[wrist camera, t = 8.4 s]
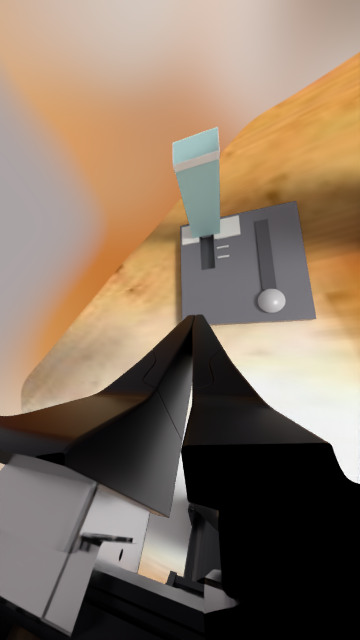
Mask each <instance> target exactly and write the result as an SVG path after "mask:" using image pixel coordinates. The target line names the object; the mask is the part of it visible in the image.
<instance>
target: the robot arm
mask: <svg viewBox="0 0 360 640" xmlns="http://www.w3.org/2000/svg"><path fill="white" fill-rule="evenodd" d="M152 350H153V351H152ZM152 350H151V351H150V352H149V353H148V354H147V355H146V356H144V357H143V358H142V359H141V360H140V361H139V362H138V363H136V364H135V365H134V366H133V367H132V368H130V369H129V370H128V371H127V372H125V373H124V374H123V375H122V376H120V377H119V378H118V379H117V380H115V381H114V382H113V383H112V384H110V385H109V386H108V387H106V388H105V389H104V390H102V391H100V392H99V393H97V394H94V395H92V396H89V397H85V398H82V399H78V400H74V401H70V402H67V403H63V404H59V405H55V406H52V407H48V408H44V409H40V410H37V411H33V412H29V413H24V414H19V415H14V416H0V463H2V464H5V466H4V467H3V468H2V470H1V471H0V640H360V484H358V483H355V482H353V481H351V480H349V479H348V478H347V477H346V476H345V475H344V473H343V471H342V470H341V468H340V466H339V464H338V461H337V459H336V456H335V454H334V451H333V447H332V445H331V444H330V443H328V442H326V441H325V440H323V439H322V438H320V437H318V436H317V435H315V434H313V433H312V432H310V431H308V430H307V429H305V428H304V427H302V426H300V425H299V424H297V423H295V422H294V421H292V420H290V419H289V418H287V417H285V416H284V415H282V414H281V413H279V412H277V411H276V410H274V409H273V408H272V407H270V406H269V405H268V404H267V403H266V402H265V401H264V400H263V399H262V398H261V397H260V396H259V395H258V393H257V392H256V391H255V390H254V389H253V387H252V386H251V385H250V384H249V383H248V381H247V380H246V379H245V378H244V377H243V375H242V374H241V373H240V372H239V370H238V369H237V368H236V367H235V365H234V364H233V363H232V361H231V360H230V358H229V357H228V355H227V354H226V352H225V350H224V349H223V347H222V345H221V344H220V342H219V340H218V339H217V337H216V335H215V334H214V332H213V330H212V329H211V327H210V325H209V324H208V322H207V320H206V319H205V317H204V315H203V314H198V315H196V316H195V315H188V316H187V317H186V318H185V319H184V320H183V321H181V322H180V323H179V324H178V325H177V326H176V327H175V328H174V329H173V330H172V331H171V332H170V333H169V334H168V335H167V336H166V337H165V338H164V339H163V340H161V341H160V342H159V343H158V344H157V345H156V346H155V347H154V348H153V349H152ZM191 386H192V391H193V393H192V407H191V411H190V415H189V419H188V423H187V428H186V432H185V436H184V440H183V434H184V428H185V422H186V416H187V410H188V404H189V398H190V392H191ZM182 440H183V444H182ZM181 446H182V448H181ZM180 452H181V455H182V462H183V469H184V476H185V484H186V492H187V500H188V502H189V503H190V504H189V506H188V513H189V517H190V521H191V526H192V528H191V534H190V540H189V546H188V552H187V558H186V564H185V570H184V576H183V577H181V576H178V575H177V573H176V572H173V571H170V574H169V577H168V580H167V583H165V584H163V583H160V582H158V581H155V580H152V579H150V578H147V577H145V576H142V575H139V574H137V573H138V569H139V564H140V559H141V554H142V549H143V544H144V539H145V534H146V530H147V525H148V520H149V515H150V513H152V514H156V515H160V516H164V517H167V518H169V517H170V511H171V506H172V500H173V494H174V488H175V482H176V476H177V470H178V464H179V458H180ZM191 508H193V509H194V510H192V509H191Z"/></svg>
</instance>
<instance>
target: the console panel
mask: <svg viewBox="0 0 360 640" xmlns="http://www.w3.org/2000/svg"><path fill="white" fill-rule="evenodd" d="M180 236H181V285H182V321H183V320H184V319H185V318H186V317H187V316H188V315H195V316H196V315H198V314H203V315H204V317H205V319H206V320H207V322H208V324H209V325H226V324H245V323H264V322H284V321H303V320H313V319H316V314H315V308H314V302H313V297H312V291H311V285H310V279H309V273H308V267H307V261H306V256H305V250H304V244H303V238H302V232H301V226H300V220H299V215H298V209H297V203H296V201H293V202H289V203H284V204H279V205H275V206H270V207H266V208H261V209H256V210H252V211H247V212H243V213H238V214H233V215H229V216H224V217H220V233H217V234H212V235H211V237H208V238H203V239H202V237H197V238H193V236H192V233H191V229H190V225H189V224H187V225H183V226H180Z"/></svg>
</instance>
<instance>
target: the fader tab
mask: <svg viewBox="0 0 360 640" xmlns="http://www.w3.org/2000/svg"><path fill="white" fill-rule="evenodd" d="M219 159H220V149H219V135H218V127H215V128H212V129H209V130H207V131H204V132H201V133H199V134H196V135H193V136H190V137H187V138H184V139H182V140H179V141H176V142H173V168H174V172H175V173H176V176H177V180H178V184H179V188H180V192H181V195H182V199H183V203H184V207H185V210H186V214H187V218H188V222H189V225H190V229H191V233H192V236H193V238H197V237H202V239H203V238H208V237H211V235H212V234H217V233H220V182H219Z"/></svg>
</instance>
